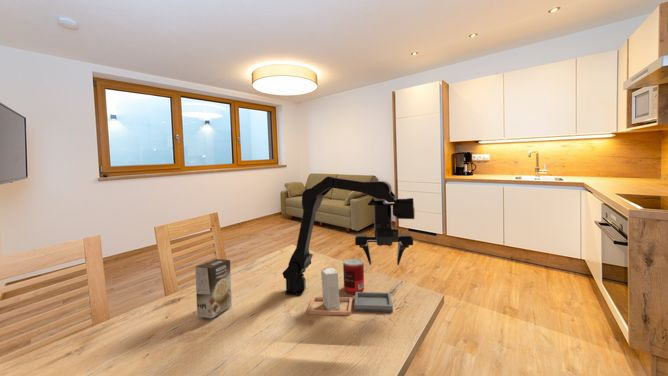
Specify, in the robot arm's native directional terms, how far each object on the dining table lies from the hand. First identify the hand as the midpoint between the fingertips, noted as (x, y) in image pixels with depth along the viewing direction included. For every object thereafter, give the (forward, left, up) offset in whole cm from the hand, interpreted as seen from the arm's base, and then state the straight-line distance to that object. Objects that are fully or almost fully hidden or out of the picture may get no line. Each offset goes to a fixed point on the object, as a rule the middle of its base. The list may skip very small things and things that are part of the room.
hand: (384, 264), depth 92 cm
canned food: (-11, +10, -13) cm, 20 cm away
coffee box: (-56, -9, -13) cm, 58 cm away
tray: (-4, -1, -13) cm, 14 cm away
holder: (-18, -4, -13) cm, 23 cm away
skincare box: (-18, -4, -13) cm, 23 cm away
